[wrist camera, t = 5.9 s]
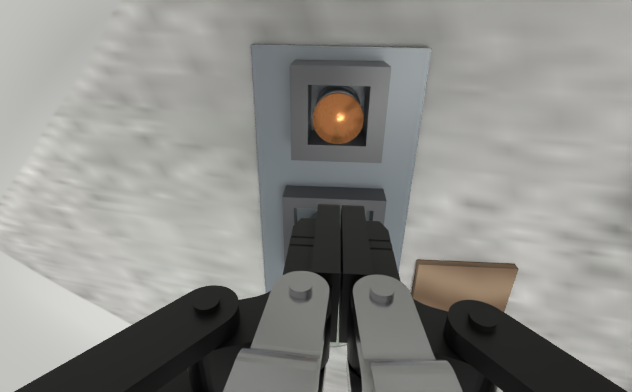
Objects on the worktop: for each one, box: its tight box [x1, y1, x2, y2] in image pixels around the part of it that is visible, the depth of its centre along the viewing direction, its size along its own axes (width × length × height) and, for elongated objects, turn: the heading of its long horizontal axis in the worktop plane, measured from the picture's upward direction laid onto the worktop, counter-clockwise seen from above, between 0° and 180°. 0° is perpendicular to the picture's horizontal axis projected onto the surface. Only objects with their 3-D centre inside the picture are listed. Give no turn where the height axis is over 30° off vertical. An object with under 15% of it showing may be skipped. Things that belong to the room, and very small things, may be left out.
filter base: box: [251, 44, 432, 292], centre depth 32 cm, size 25×14×5 cm, turn 179°
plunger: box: [313, 85, 364, 144], centre depth 27 cm, size 4×4×5 cm
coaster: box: [411, 260, 518, 312], centre depth 39 cm, size 10×10×1 cm
